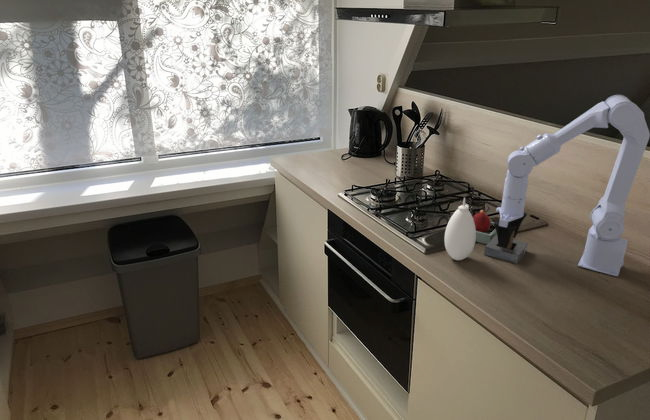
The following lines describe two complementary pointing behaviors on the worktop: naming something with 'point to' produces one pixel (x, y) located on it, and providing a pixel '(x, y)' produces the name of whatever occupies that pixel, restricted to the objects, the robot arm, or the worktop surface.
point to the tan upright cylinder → (510, 242)
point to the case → (485, 236)
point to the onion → (481, 222)
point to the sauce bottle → (460, 233)
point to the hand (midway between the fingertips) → (507, 241)
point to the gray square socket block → (506, 250)
